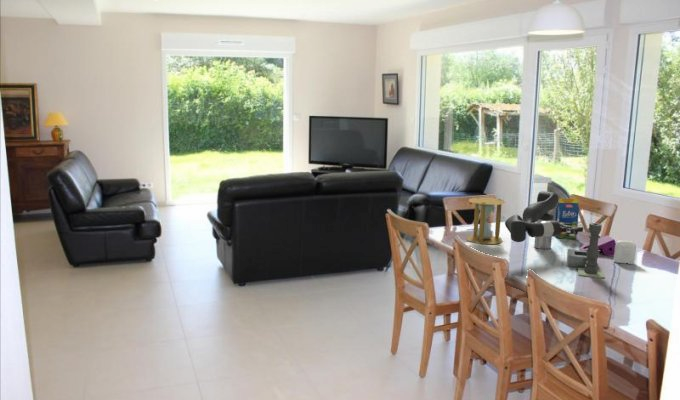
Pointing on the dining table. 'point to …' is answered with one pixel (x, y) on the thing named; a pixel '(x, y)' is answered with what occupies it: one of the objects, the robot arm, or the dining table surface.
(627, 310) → the dining table surface
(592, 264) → the candle holder
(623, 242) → the photo printer
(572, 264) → the socket block
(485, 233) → the hourglass
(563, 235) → the blue food package
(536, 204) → the robot arm
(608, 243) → the mounting bracket
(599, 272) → the mat
